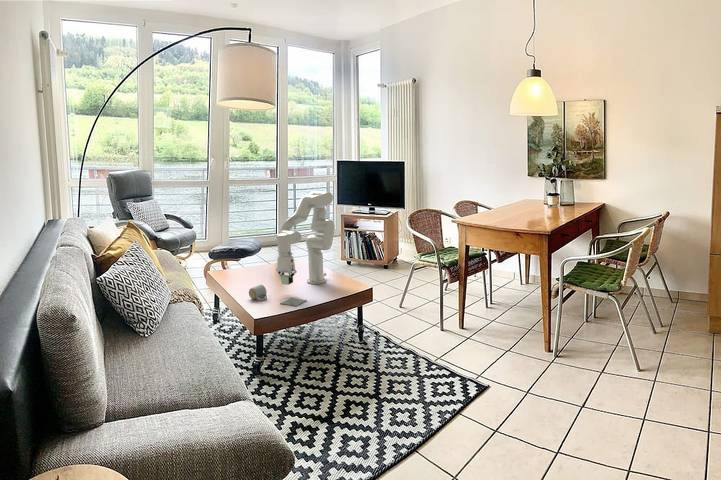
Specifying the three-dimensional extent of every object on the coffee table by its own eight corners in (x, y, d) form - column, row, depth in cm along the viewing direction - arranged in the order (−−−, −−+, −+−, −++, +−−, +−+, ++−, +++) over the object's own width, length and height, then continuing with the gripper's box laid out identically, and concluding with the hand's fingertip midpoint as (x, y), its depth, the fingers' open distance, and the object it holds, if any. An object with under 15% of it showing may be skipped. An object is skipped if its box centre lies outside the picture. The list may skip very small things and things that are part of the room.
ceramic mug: (248, 298, 281) (247, 286, 279) (259, 295, 287) (258, 283, 285) (259, 302, 274) (258, 289, 272) (270, 299, 280) (269, 286, 278)
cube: (286, 281, 291) (285, 273, 290) (293, 282, 289) (292, 274, 288) (281, 284, 287) (280, 276, 286) (288, 284, 284) (287, 277, 283)
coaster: (291, 298, 280) (291, 297, 280) (306, 300, 275) (306, 300, 275) (280, 303, 270) (280, 303, 270) (296, 306, 265) (296, 305, 265)
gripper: (300, 253, 283) (302, 282, 287) (277, 251, 290) (279, 279, 295) (292, 256, 276) (295, 286, 281) (269, 254, 284) (272, 283, 288)
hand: (287, 282), depth 288 cm, fingers closed on cube, 5 cm apart
